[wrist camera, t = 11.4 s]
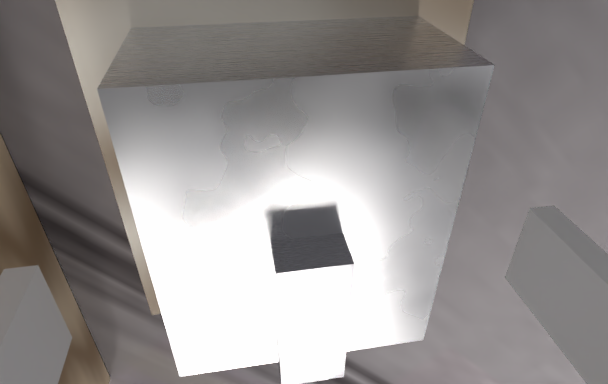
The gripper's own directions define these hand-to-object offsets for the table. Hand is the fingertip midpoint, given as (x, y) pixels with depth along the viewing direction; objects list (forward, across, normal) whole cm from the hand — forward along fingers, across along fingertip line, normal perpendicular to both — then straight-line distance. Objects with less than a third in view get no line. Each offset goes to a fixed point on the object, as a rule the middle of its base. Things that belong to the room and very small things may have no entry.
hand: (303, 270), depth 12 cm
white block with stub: (+5, 0, 0) cm, 5 cm away
